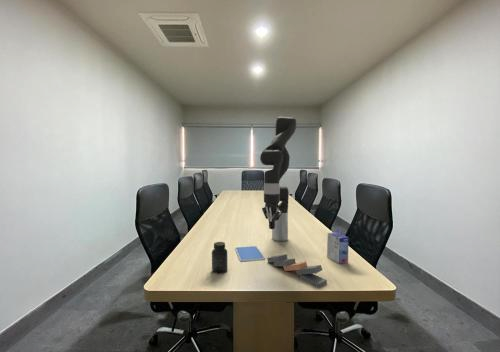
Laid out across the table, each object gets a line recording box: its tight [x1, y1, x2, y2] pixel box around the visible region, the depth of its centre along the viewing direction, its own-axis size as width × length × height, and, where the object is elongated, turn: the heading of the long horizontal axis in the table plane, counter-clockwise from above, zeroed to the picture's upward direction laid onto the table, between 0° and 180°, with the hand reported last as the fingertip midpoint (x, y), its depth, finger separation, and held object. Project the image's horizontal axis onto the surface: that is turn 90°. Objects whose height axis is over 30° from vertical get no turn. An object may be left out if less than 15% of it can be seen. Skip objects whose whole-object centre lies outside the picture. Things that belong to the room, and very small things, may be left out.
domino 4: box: [295, 264, 323, 276], centre depth 96 cm, size 2×5×9 cm
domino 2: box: [273, 258, 297, 267], centre depth 106 cm, size 2×5×9 cm
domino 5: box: [299, 273, 328, 288], centre depth 93 cm, size 2×5×9 cm
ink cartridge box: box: [326, 228, 349, 264], centre depth 114 cm, size 10×6×14 cm, turn 15°
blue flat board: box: [234, 245, 266, 263], centre depth 124 cm, size 19×13×1 cm, turn 11°
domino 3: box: [282, 261, 308, 272], centre depth 101 cm, size 2×5×9 cm
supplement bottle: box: [211, 241, 229, 274], centre depth 104 cm, size 7×7×12 cm
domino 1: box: [266, 253, 289, 263], centre depth 110 cm, size 2×5×9 cm
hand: (271, 228), depth 112 cm, fingers closed
